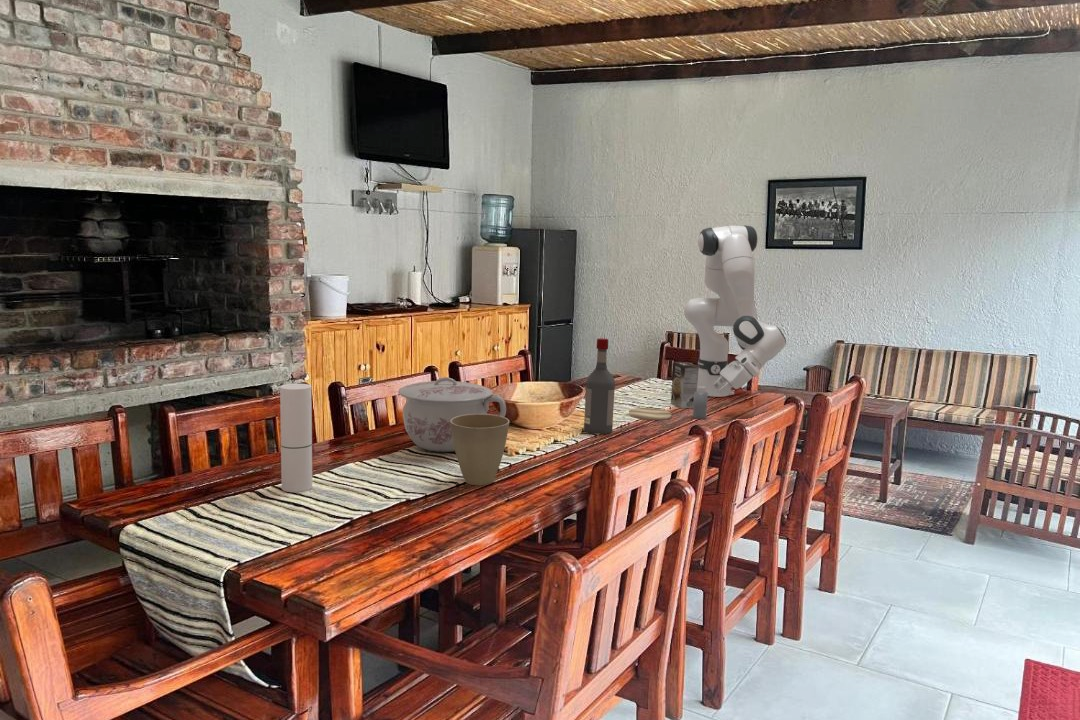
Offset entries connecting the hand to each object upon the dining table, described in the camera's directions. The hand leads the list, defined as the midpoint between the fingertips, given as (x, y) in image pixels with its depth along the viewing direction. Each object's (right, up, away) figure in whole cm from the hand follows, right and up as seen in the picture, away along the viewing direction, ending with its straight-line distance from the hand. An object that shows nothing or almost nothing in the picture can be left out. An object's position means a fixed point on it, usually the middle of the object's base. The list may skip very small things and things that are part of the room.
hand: (717, 389), depth 283 cm
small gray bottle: (-6, -10, +2) cm, 12 cm away
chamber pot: (-90, -15, -48) cm, 103 cm away
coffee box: (-8, -7, +21) cm, 23 cm away
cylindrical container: (-121, -21, -88) cm, 152 cm away
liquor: (-44, -13, -22) cm, 50 cm away
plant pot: (-78, -21, -78) cm, 113 cm away
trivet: (-23, -9, +2) cm, 25 cm away
